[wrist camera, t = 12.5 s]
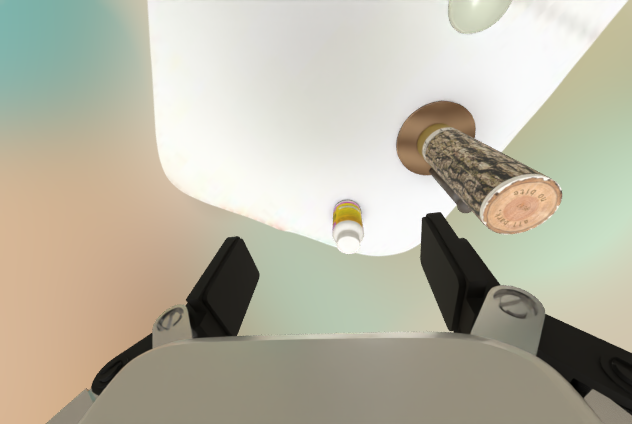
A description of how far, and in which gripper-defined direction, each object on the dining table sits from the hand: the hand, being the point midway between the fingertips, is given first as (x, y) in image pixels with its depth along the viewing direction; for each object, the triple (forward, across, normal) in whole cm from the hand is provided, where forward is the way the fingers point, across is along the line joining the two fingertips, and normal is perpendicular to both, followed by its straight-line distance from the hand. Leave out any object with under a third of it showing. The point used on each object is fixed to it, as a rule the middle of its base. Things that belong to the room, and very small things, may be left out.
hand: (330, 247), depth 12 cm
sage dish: (+38, -23, -12) cm, 46 cm away
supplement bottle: (+38, +1, +22) cm, 44 cm away
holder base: (+38, -18, +8) cm, 43 cm away
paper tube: (+37, -18, +8) cm, 42 cm away
